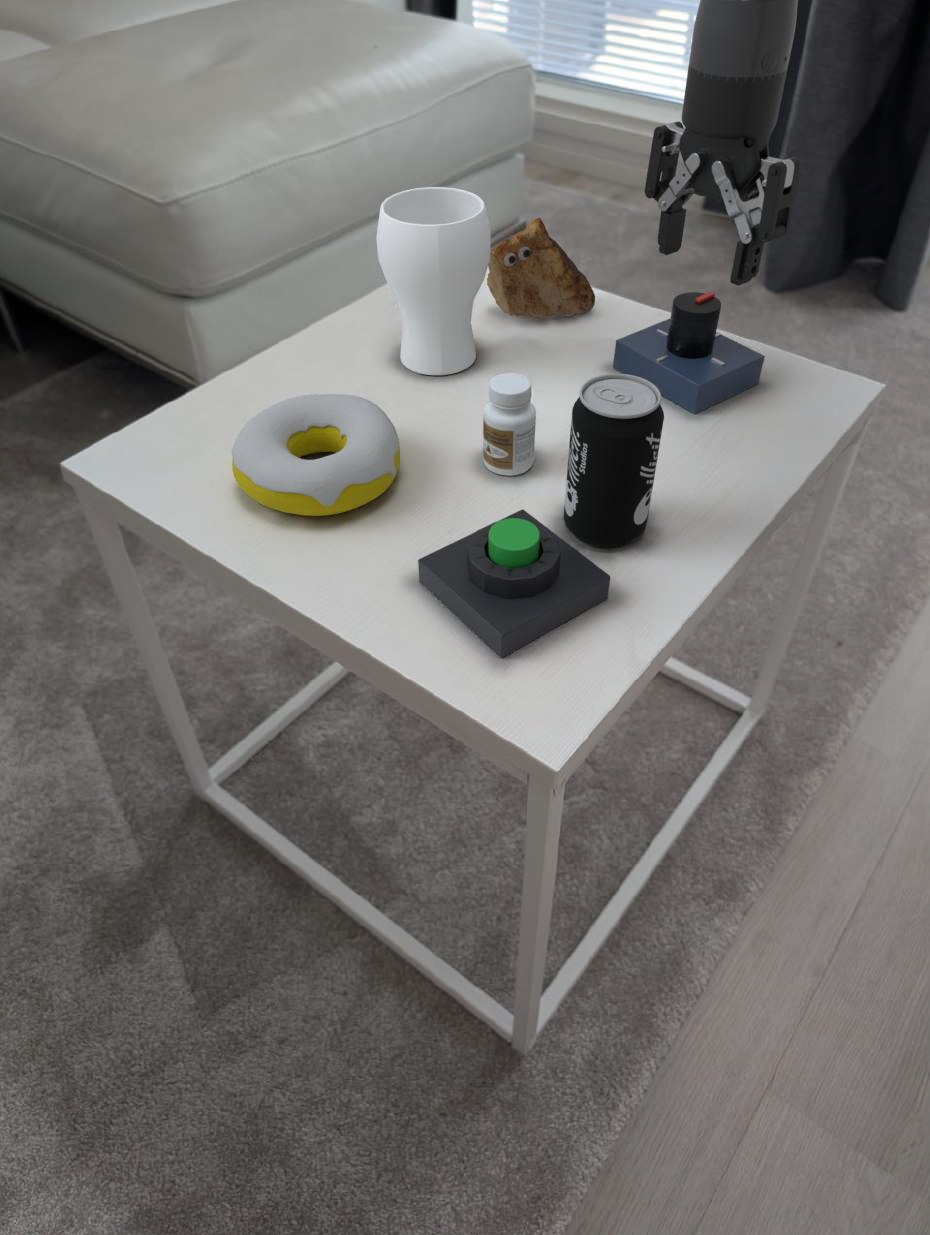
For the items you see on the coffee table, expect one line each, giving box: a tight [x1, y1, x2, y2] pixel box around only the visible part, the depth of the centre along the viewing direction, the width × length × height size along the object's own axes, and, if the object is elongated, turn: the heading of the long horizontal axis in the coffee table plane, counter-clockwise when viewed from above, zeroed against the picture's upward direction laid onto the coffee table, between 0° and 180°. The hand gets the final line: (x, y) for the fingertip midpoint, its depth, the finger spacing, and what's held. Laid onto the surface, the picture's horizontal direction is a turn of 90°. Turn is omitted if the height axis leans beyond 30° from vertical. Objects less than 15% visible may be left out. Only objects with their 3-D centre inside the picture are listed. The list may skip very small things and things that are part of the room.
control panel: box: [612, 318, 766, 415], centre depth 88 cm, size 11×9×3 cm
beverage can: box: [563, 373, 665, 549], centre depth 68 cm, size 7×7×12 cm
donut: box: [231, 393, 401, 517], centre depth 76 cm, size 14×14×5 cm
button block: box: [417, 508, 611, 658], centre depth 66 cm, size 10×10×4 cm
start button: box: [488, 518, 540, 569], centre depth 64 cm, size 4×4×2 cm
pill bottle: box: [482, 372, 537, 477], centre depth 76 cm, size 4×4×8 cm
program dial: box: [666, 291, 722, 358], centre depth 86 cm, size 4×4×5 cm
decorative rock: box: [486, 216, 596, 319], centre depth 96 cm, size 12×6×11 cm, turn 105°
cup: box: [375, 186, 492, 376], centre depth 87 cm, size 11×11×15 cm
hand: (703, 266), depth 82 cm, fingers open, 8 cm apart
